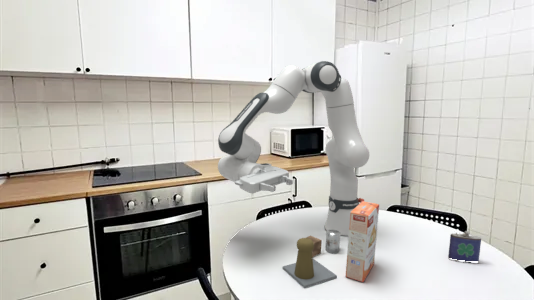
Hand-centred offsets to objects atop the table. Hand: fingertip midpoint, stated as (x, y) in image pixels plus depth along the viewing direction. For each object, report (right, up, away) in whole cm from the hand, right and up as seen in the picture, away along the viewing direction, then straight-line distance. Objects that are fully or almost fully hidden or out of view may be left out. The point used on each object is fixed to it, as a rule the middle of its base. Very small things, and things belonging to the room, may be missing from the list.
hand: (283, 185), depth 101 cm
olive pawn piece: (+6, -26, -8) cm, 28 cm away
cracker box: (+25, -27, -4) cm, 37 cm away
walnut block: (+10, -25, +8) cm, 28 cm away
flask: (+62, -27, +4) cm, 68 cm away
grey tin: (+18, -25, +10) cm, 32 cm away
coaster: (+8, -27, -6) cm, 28 cm away
